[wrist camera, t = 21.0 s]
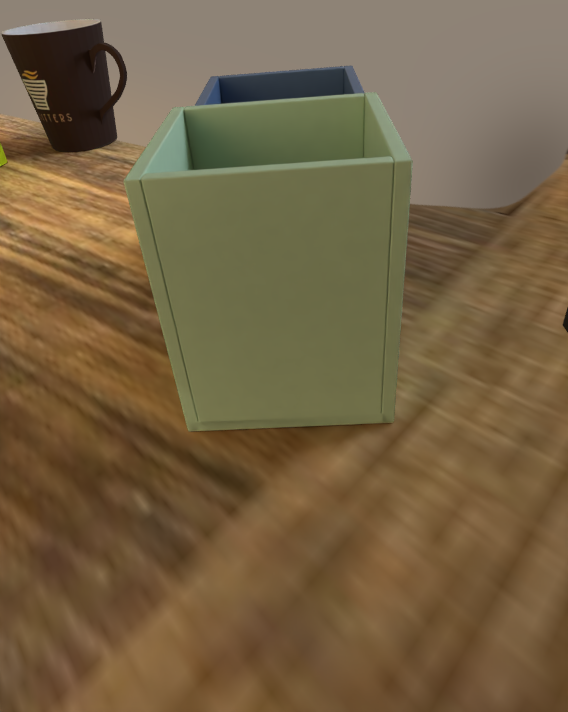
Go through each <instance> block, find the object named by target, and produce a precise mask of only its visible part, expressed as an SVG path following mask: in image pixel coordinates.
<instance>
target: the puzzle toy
mask: <svg viewBox="0 0 568 712" xmlns="http://www.w3.org/2000/svg"><path fill="white" fill-rule="evenodd" d="M6 163H8V161H7V159H6V156H5V154H4V151H3V148H2V146H1V143H0V166H2V165H4V164H6Z"/></svg>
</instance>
